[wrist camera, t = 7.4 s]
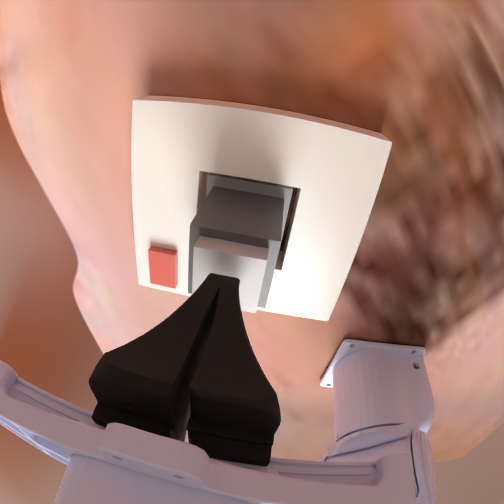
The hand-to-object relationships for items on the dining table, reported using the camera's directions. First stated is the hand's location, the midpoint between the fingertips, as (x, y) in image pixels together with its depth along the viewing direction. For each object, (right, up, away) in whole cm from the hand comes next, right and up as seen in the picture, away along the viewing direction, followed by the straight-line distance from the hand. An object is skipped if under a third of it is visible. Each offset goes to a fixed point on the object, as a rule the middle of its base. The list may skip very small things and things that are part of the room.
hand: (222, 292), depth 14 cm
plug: (+1, +4, +6) cm, 7 cm away
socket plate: (+1, +5, +7) cm, 9 cm away
